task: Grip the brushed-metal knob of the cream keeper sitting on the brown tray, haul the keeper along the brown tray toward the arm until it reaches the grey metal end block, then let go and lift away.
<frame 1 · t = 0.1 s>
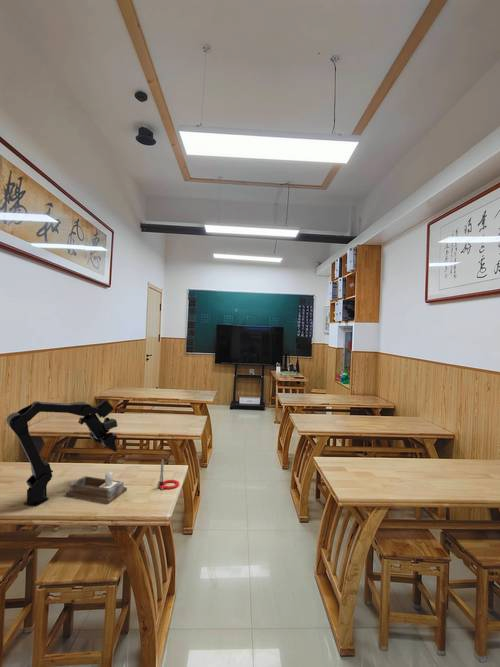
hand: (111, 448, 159), 15 cm above the table, tool tilted 30°, fingers open, 9 cm apart
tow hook: (169, 486, 154), on the table
brown tray: (96, 493, 145), on the table
keeper: (108, 482, 143), point 6 cm above the table, slide at 0.0 cm
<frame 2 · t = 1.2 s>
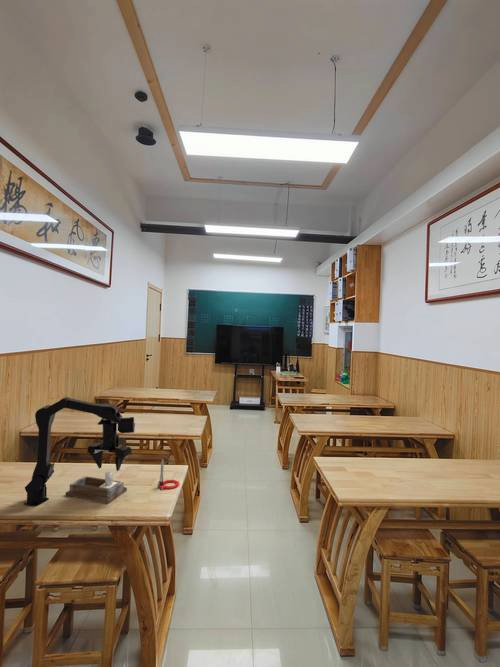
hand: (108, 469, 143), 11 cm above the table, tool pointing down, fingers open, 9 cm apart
nothing on the table moved.
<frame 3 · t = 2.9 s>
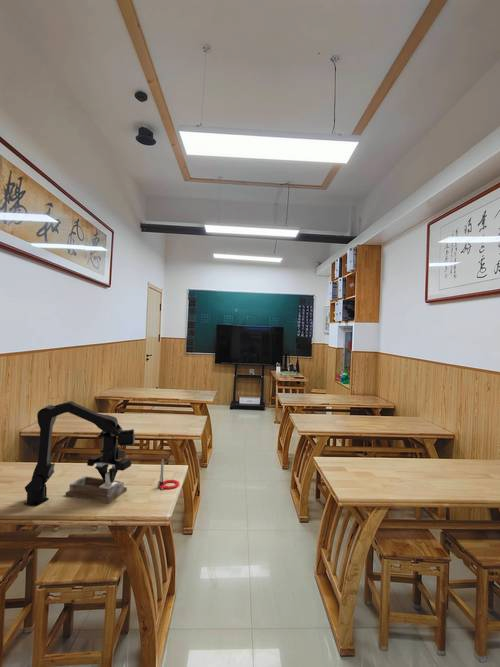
hand: (108, 482, 143), 6 cm above the table, tool pointing down, fingers closed on keeper, 3 cm apart
keeper: (108, 482, 143), point 6 cm above the table, slide at 0.0 cm, touching gripper
everything else where it was.
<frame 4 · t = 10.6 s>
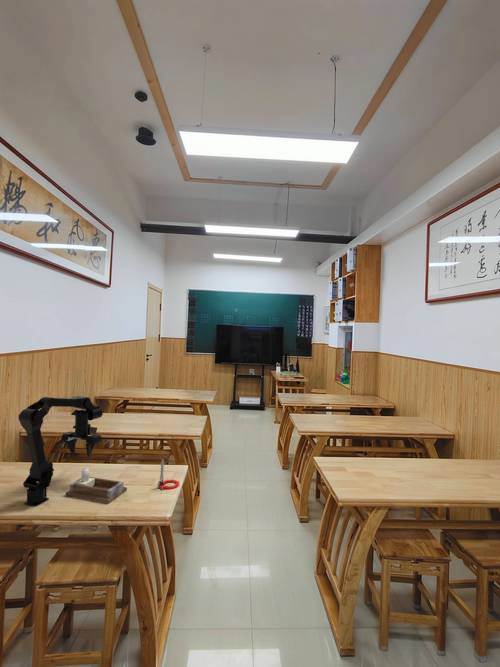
hand: (81, 455, 158), 12 cm above the table, tool pointing down, fingers open, 9 cm apart
keeper: (85, 478, 147), point 6 cm above the table, slide at 12.4 cm
everything else where it was.
at the end: keeper slide at 12.4 cm; the gripper is holding nothing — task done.
